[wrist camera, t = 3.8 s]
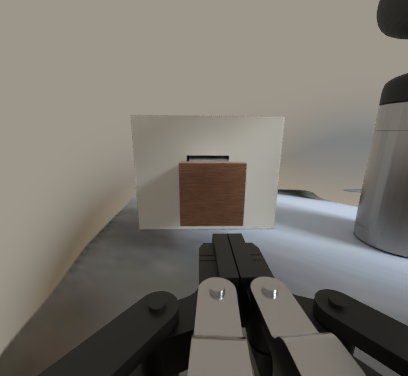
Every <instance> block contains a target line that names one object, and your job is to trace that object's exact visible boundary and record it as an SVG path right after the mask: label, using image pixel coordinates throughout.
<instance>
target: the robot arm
mask: <svg viewBox="0 0 408 376" xmlns="http://www.w3.org/2000/svg"><path fill="white" fill-rule="evenodd" d="M377 22H378V26H379V28H380V30H381V32H383V33H384V34H385V35H387V36H389V37H393V38H398V39H408V0H380V2H379V5H378V10H377ZM379 105H380V106H379V108H378V114H377V118H376V123H375V128H374V133H373V138H372V143H371V148H370V152H369V157H368V162H367V167H366V172H365V177H364V181H363V186H362V191H361V196H360V201H359V205H358V210H357V215H356V220H355V225H354V230H353V231H354V234H355V235H356V236H357V237H358V238H359V239H360V240H362V241H364V242H365V243H367V244H369V245H371V246H373V247H376V248H378V249H381V250H384V251H386V252H390V253H393V254H396V255H401V256H405V257H408V73H407V74H404V75H401V76H398V77H396V78H394V79H392V80H390V81H389V82H388V83H386V84H385V86H384V88H383V91H382V94H381V99H380V104H379ZM241 327H245V328H246V332H247V340H246V338H245V337H243V335H242V328H241ZM355 346H356V347H357V348H359V349H360V350H362V351H364V352H365V353H367V354H368V355H370V356H371V357H373V358H374V359H376V360H377V361H379V362H381V363H382V364H384V365H385V366H387V367H388V368H390V369H391V370H393V371H395V372H396V373H398V374H399V375H401V376H408V326H407V325H405V324H403V323H401V322H399V321H397V320H395V319H393V318H391V317H389V316H387V315H385V314H383V313H381V312H379V311H377V310H375V309H373V308H371V307H369V306H367V305H365V304H363V303H361V302H359V301H357V300H355V299H353V298H351V297H349V296H347V295H345V294H343V293H341V292H338V291H335V290H330V289H323V290H319V291H318V292H316V294H315V298H314V299H310V298H306V297H301V296H297V295H294V294H292V293H291V292H290V290H289V289H288V287H287V286H286V285H285V284H284V283H282V282H281V281H279V280H277V279H275V278H274V277H273V275H272V273H271V271H270V269H269V267H268V265H267V263H266V261H265V259H264V258H263V256H262V254H261V252H260V250H259V248H258V247H257V246H255V245H254V244H253V243H245V241H244V239H243V236H242V234H213V236H212V243H203V244H202V246H201V247H200V248H199V288H198V289H197V291H196V292H195V293H194V294H192V295H191V296H188V297H186V298H183V299H179V300H177V298H176V297H175V296H174V295H173V294H171V293H169V292H165V291H158V292H153V293H150V294H148V295H146V296H145V297H143V298H142V299H141V300H139V301H138V302H136V303H135V304H134V305H132V306H131V307H130V308H128V309H127V310H126V311H124V312H123V313H122V314H120V315H119V316H118V317H116V318H115V319H114V320H112V321H111V322H110V323H108V324H107V325H105V326H104V327H103V328H101V329H100V330H99V331H97V332H96V333H95V334H93V335H92V336H91V337H89V338H88V339H87V340H85V341H84V342H83V343H81V344H80V345H78V346H77V347H76V348H74V349H73V350H72V351H70V352H69V353H68V354H66V355H65V356H64V357H62V358H61V359H60V360H58V361H57V362H56V363H54V364H53V365H52V366H50V367H49V368H47V369H46V370H45V371H43V372H42V373H41V374H39V375H38V376H179V373H180V372H183V371H185V370H187V369H188V376H253V375H252V368H251V364H252V367H253V370H254V373H255V376H382V375H381V374H379V373H378V372H376V371H375V370H373V369H372V368H370V367H369V366H367V365H366V364H364V363H363V362H361V361H360V360H358V359H357V358H355V357H354V356H353V353H354V349H355ZM250 360H251V362H250Z"/></svg>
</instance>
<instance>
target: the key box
mask: <svg viewBox="0 0 408 376" xmlns="http://www.w3.org/2000/svg"><path fill="white" fill-rule="evenodd" d="M284 120H285V117H270V116H268V117H267V116H167V115H166V116H165V115H131V125H132V126H131V127H132V139H133V152H134V166H135V177H136V178H135V179H136V191H137V204H138V217H139V230H141V229H274V220H275V210H276V200H277V190H278V180H279V170H280V160H281V150H282V140H283V130H284ZM190 157H225V158H226V159H227V160H228V161H229V162H245V163H247V169H246V186H245V203H244V220H243V226H180V199H179V162H180V161H189V159H190Z"/></svg>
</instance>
